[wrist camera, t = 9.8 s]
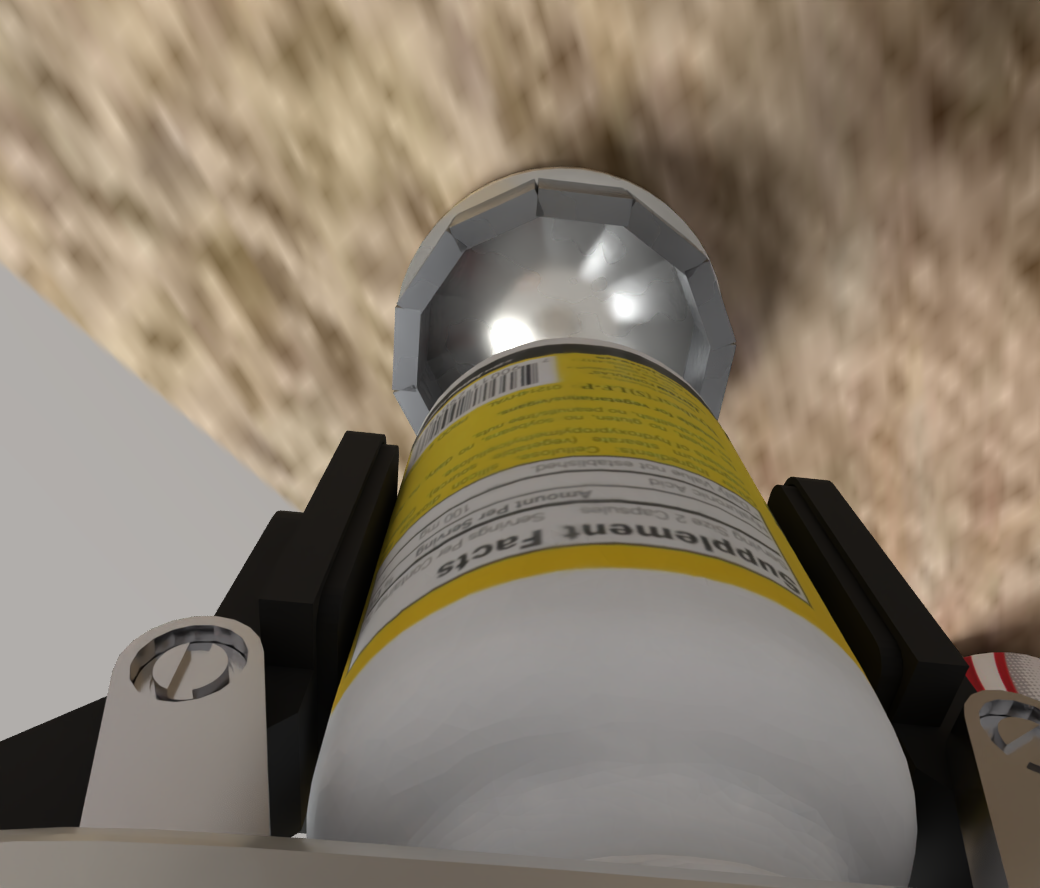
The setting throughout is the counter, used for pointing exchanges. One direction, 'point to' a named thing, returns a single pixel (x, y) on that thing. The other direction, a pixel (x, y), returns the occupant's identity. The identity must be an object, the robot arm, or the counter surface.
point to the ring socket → (558, 283)
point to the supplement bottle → (603, 646)
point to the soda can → (1005, 673)
